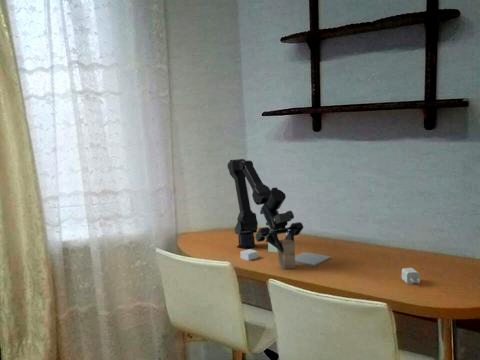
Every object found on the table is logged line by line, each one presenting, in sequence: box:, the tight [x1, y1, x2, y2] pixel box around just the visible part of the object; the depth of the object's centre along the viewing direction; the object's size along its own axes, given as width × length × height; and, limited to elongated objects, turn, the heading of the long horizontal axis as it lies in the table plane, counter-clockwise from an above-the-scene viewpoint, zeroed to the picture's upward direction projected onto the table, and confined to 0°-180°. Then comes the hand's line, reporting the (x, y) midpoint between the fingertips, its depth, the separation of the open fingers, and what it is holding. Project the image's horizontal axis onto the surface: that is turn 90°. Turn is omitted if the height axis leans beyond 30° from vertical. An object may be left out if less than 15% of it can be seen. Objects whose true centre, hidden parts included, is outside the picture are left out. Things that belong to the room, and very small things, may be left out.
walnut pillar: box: [277, 238, 296, 270], centre depth 164 cm, size 4×4×10 cm
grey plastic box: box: [240, 248, 259, 261], centre depth 178 cm, size 5×5×3 cm
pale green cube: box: [267, 242, 278, 253], centre depth 187 cm, size 4×4×4 cm
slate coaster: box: [295, 251, 332, 267], centre depth 172 cm, size 12×12×1 cm
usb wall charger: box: [401, 267, 421, 285], centre depth 143 cm, size 4×7×4 cm, turn 2°
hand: (288, 250), depth 163 cm, fingers closed on walnut pillar, 4 cm apart
